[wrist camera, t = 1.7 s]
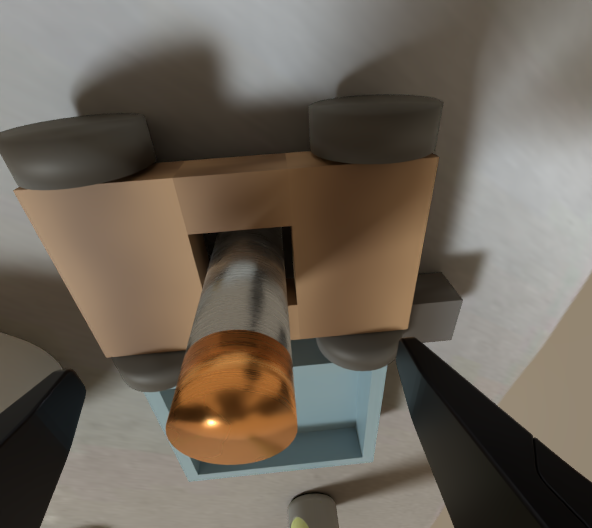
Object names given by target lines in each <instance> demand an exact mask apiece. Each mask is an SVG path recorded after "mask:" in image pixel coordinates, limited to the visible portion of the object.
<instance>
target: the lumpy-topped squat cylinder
mask: <svg viewBox="0 0 592 528" xmlns="http://www.w3.org/2000/svg"><path fill="white" fill-rule="evenodd" d="M56 370H63V369H62V367H61V366H60V364H59V363H58V362H57V361H56V360H55V359H54V358H53V357H52V356H51V355H50V354H48V353H47V352H46V351H44V350H43V349H41V348H39V347H38V346H36V345H34V344H32V343H29V342H27V341H25V340H22V339H19V338H17V337H14V336H11V335H8V334H4V333H1V332H0V413H1V412H2V411H4V410H5V409H6V408H8V407H9V406H10V405H11V404H13V403H14V402H15V401H16V400H18V399H19V398H20V397H22V396H23V395H24V394H25V393H27V392H28V391H29V390H30V389H32V388H33V387H34V386H36V385H37V384H38V383H39V382H41V381H42V380H43V379H44V378H46V377H47V376H48V375H50V374H51V373H52V372H54V371H56Z"/></svg>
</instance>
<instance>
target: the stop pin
mask: <svg viewBox="0 0 592 528" xmlns="http://www.w3.org/2000/svg"><path fill="white" fill-rule="evenodd" d="M297 428H298V425H297V413H296V400H295V388H294V376H293V363H292V351H291V339H290V326H289V314H288V302H287V290H286V277H285V265H284V253H283V240H282V228H281V227H272V228H260V229H249V230H237V231H225V232H218V233H217V237H216V240H215V244H214V248H213V251H212V255H211V259H210V263H209V266H208V270H207V274H206V278H205V281H204V285H203V289H202V292H201V296H200V300H199V304H198V307H197V311H196V315H195V318H194V322H193V326H192V330H191V333H190V337H189V341H188V345H187V348H186V352H185V356H184V359H183V363H182V367H181V371H180V374H179V378H178V382H177V386H176V389H175V393H174V397H173V400H172V404H171V408H170V412H169V415H168V419H167V423H166V435H167V438H168V440H169V441H170V443H171V444H172V445H173V446H174V447H175V448H176V449H177V450H178V451H180V452H181V453H183V454H184V455H186V456H189V457H191V458H193V459H196V460H199V461H203V462H207V463H212V464H222V465H238V464H248V463H253V462H258V461H261V460H265V459H267V458H270V457H272V456H274V455H276V454H278V453H280V452H282V451H283V450H284V449H286V448H287V447H288V446H289V445H290V444H291V443H292V441H293V440H294V438H295V436H296V434H297Z"/></svg>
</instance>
